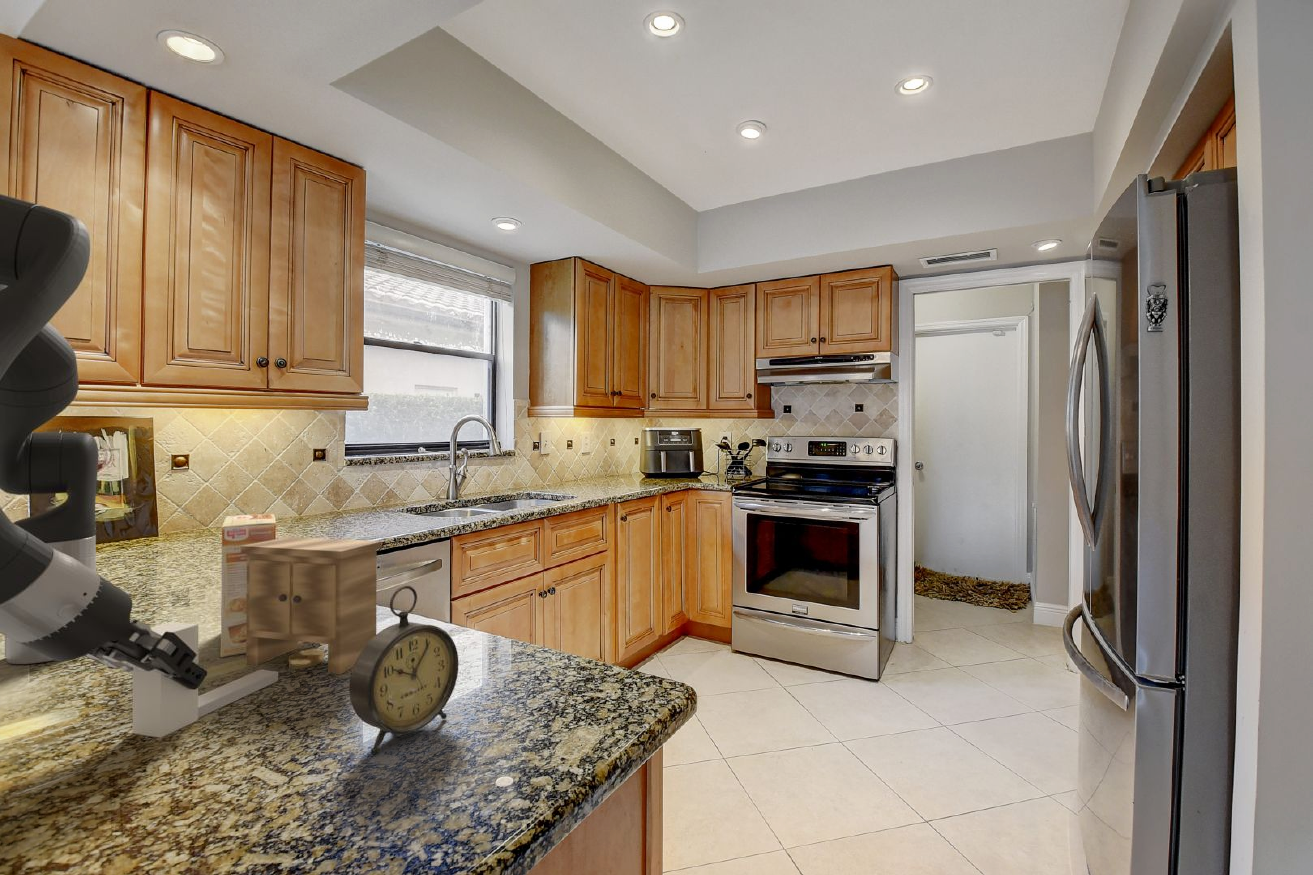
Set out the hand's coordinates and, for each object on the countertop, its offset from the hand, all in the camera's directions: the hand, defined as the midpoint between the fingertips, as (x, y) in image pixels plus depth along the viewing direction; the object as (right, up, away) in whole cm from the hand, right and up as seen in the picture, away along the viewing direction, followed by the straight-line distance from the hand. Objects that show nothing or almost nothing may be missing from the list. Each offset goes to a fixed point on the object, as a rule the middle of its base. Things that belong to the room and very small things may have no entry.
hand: (183, 678), depth 67 cm
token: (+4, -5, +17) cm, 18 cm away
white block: (+1, -5, +3) cm, 6 cm away
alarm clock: (+27, -5, -3) cm, 28 cm away
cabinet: (+4, -5, +18) cm, 19 cm away
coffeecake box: (-11, -5, +26) cm, 29 cm away
